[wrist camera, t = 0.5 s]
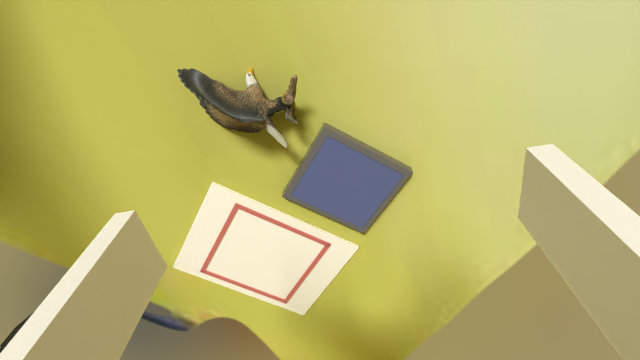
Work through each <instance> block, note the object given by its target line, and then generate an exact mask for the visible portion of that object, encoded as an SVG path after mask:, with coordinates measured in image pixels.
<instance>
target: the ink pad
mask: <svg viewBox="0 0 640 360" xmlns="http://www.w3.org/2000/svg"><path fill="white" fill-rule="evenodd" d="M412 173H413V171H412V169H411V167H409V166H407V165H405V164H403V163H401V162H399V161H397V160H396V159H394V158H392V157H390V156H388V155H386V154H384V153H382V152H380V151H378V150H376V149H374V148H372V147H371V146H369V145H367V144H365V143H363V142H361V141H359V140H357V139H355V138H353V137H351V136H349V135H348V134H346V133H344V132H342V131H340V130H338V129H336V128H334V127H332V126H330V125H328V124H326V123H324V124H323V126H322V128H321V129H320V131H319V133H318V134H317V136H316V138H315V139H314V141H313V143H312V144H311V146H310V148H309V149H308V151H307V153H306V154H305V156H304V158H303V159H302V161H301V163H300V164H299V166H298V168H297V169H296V171H295V173H294V174H293V176H292V178H291V179H290V181H289V183H288V184H287V186H286V188H285V189H284V191H283V195H282V197H283V198H286V199H288V200H290V201H292V202H294V203H297V204H299V205H301V206H303V207H306V208H308V209H310V210H312V211H314V212H317V213H319V214H321V215H323V216H326V217H328V218H330V219H332V220H334V221H337V222H339V223H341V224H343V225H346V226H348V227H350V228H352V229H354V230H357V231H359V232H361V233H363V234H364V233H365V232H366V230H367V229H368V228H369V227H370V225H371V224H372V223H373V222H374V220H375V219H376V218H377V217H378V215H379V214H380V213H381V212H382V210H383V209H384V208H385V207H386V206H387V204H388V203H389V202H390V201H391V199H392V198H393V197H394V196H395V194H396V193H397V192H398V191H399V189H400V188H401V187H402V186H403V184H404V183H405V182H406V181H407V179H408V178H409V177H410V176H411V174H412Z"/></svg>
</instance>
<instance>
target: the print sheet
mask: <svg viewBox="0 0 640 360" xmlns="http://www.w3.org/2000/svg"><path fill="white" fill-rule="evenodd" d="M358 248H359V246H358V245H356V244H354V243H352V242H349V241H347V240H345V239H342V238H340V237H338V236H336V235H333V234H331V233H329V232H326V231H324V230H322V229H320V228H317V227H315V226H313V225H310V224H308V223H306V222H304V221H301V220H299V219H297V218H294V217H292V216H290V215H288V214H285V213H283V212H281V211H278V210H276V209H274V208H272V207H269V206H267V205H265V204H262V203H260V202H258V201H256V200H253V199H251V198H249V197H247V196H244V195H242V194H240V193H237V192H235V191H233V190H231V189H228V188H226V187H224V186H221V185H219V184H217V183H215V182H212V184H211V186H210V188H209V190H208V192H207V195H206V197H205V199H204V201H203V203H202V205H201V208H200V210H199V212H198V214H197V216H196V218H195V221H194V223H193V225H192V227H191V229H190V231H189V234H188V236H187V238H186V240H185V242H184V244H183V247H182V249H181V251H180V253H179V255H178V257H177V260H176V262H175V264H174V266H173V268H176V269H178V270H181V271H184V272H187V273H189V274H192V275H195V276H197V277H200V278H203V279H206V280H208V281H211V282H214V283H217V284H219V285H222V286H225V287H227V288H230V289H233V290H236V291H238V292H241V293H244V294H246V295H249V296H252V297H255V298H257V299H260V300H263V301H266V302H268V303H271V304H274V305H276V306H279V307H282V308H285V309H287V310H290V311H293V312H296V313H298V314H301V315H304V314H305V313H306V312H307V311H308V309H309V308H310V307H311V306H312V304H313V303H314V302H315V301H316V300H317V298H318V297H319V296H320V295H321V293H322V292H323V291H324V290H325V289H326V287H327V286H328V285H329V284H330V282H331V281H332V280H333V279H334V277H335V276H336V275H337V274H338V273H339V271H340V270H341V269H342V268H343V266H344V265H345V264H346V263H347V262H348V260H349V259H350V258H351V257H352V255H353V254H354V253H355V252H356V251H357V249H358Z"/></svg>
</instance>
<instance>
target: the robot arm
mask: <svg viewBox="0 0 640 360" xmlns="http://www.w3.org/2000/svg"><path fill="white" fill-rule="evenodd" d="M518 218H519V220H520V221H521V222H522V224H523V225H524V226H525V228H526V229H527V230H528V232H529V233H530V235H531V236H532V237H533V239H534V240H535V241H536V243H537V244H538V246H539V247H540V248H541V249H542V251H543V252H544V254H545V255H546V256H547V258H548V259H549V260H550V262H551V263H552V265H553V266H554V267H555V269H556V270H557V271H558V273H559V274H560V276H561V277H562V278H563V280H564V281H565V282H566V284H567V285H568V286H569V288H570V289H571V291H572V292H573V293H574V295H575V296H576V297H577V299H578V300H579V302H580V303H581V304H582V305H583V307H584V308H585V310H586V311H587V312H588V314H589V315H590V317H591V318H592V319H593V320H594V322H595V323H596V325H597V326H598V327H599V329H600V330H601V332H602V333H603V334H604V336H605V337H606V338H607V340H608V341H609V342H610V344H611V345H612V347H613V348H614V349H615V351H616V352H617V353H618V355H619V356H620V357H621V359H622V360H640V217H639V216H638V215H637V214H636V213H635V212H633V211H632V210H631V209H630V208H629V207H627V206H626V205H625V204H624V203H622V202H621V201H620V200H619V199H618V198H617V197H615V196H614V195H613V194H612V193H611V192H609V191H608V190H607V189H606V188H604V187H603V186H602V185H601V184H600V183H599V182H597V181H596V180H595V179H594V178H593V177H591V176H590V175H589V174H588V173H587V172H585V171H584V170H583V169H582V168H581V167H579V166H578V165H577V164H576V163H575V162H573V161H572V160H571V159H570V158H569V157H567V156H566V155H565V154H564V153H563V152H561V151H560V150H559V149H558V148H557V147H555V146H554V145H553V144H549V145H543V146H536V147H530V148H526V154H525V163H524V171H523V180H522V188H521V197H520V206H519V214H518ZM166 268H167V265H166V263H165V261H164V260H163V258H162V256H161V254H160V253H159V251H158V249H157V248H156V246H155V244H154V242H153V241H152V239H151V237H150V235H149V234H148V232H147V230H146V229H145V227H144V225H143V223H142V222H141V220H140V218H139V217H138V215H137V213H136V211H135V210H134V211H128V212H122V213H115V214H114V215H113V217H112V218H111V219H110V220H109V221H108V223H107V224H106V225H105V226H104V228H103V229H102V230H101V231H100V232H99V234H98V235H97V236H96V237H95V239H94V240H93V241H92V242H91V243H90V245H89V246H88V247H87V248H86V249H85V251H84V252H83V253H82V254H81V256H80V257H79V258H78V259H77V260H76V262H75V263H74V264H73V265H72V267H71V268H70V269H69V270H68V271H67V273H66V274H65V275H64V276H63V278H62V279H61V280H60V281H59V283H58V284H57V285H56V286H55V287H54V289H53V290H52V291H51V292H50V294H49V295H48V296H47V297H46V298H45V299H44V301H43V302H42V303H41V304H40V306H39V307H38V308H37V309H36V311H34V312H33V313H32V314H31V315H30V316H29V317H27V318H26V319H25V320H24V321H23V322H21V323H20V324H19V325H18V326H17V327H16V328H15V329H14V330H13V331H12V332H11V333H10V335H9V336H8V337H7V338H6V339H5V341H4V342H3V343H2V344H1V348H0V360H119V359H120V358H121V356H122V354H123V352H124V350H125V348H126V346H127V344H128V342H129V340H130V338H131V336H132V334H133V332H134V330H135V328H136V326H137V324H138V322H139V320H140V319H141V317H142V315H143V313H144V311H145V309H146V307H147V305H148V303H149V301H150V299H151V297H152V295H153V293H154V291H155V289H156V287H157V285H158V283H159V281H160V279H161V278H162V276H163V274H164V272H165V270H166Z"/></svg>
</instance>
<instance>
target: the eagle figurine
mask: <svg viewBox="0 0 640 360" xmlns="http://www.w3.org/2000/svg"><path fill="white" fill-rule="evenodd" d="M177 71H178V73H179V75H178V77H179V78H180V79H181V82H183V83H184V86H185V87H186V88H188V89H190V91H191V92H192V93H194V94H195V95H196V97H197V98H198V99H199V100H200V105H201V106H202V107H204V108H206V110H205V111H206V113H208V114H209V115H210V117H211V118H212V119H213V120H214V121H216V122H217V123H218V124H220V125H222V126H223V127H227V128H229V129H234V130H237V131H243V132H248V133H250V132H251V133H254V132H259V131H261V129H264V130H265V131H267V132H268V133H270V134H271V135H272V136H273V137H274V138H275V139H276V140H277V141H278V142H279V143H280V144H281V145H282V146H284V147H285V148H287V147H288V143H287V142H286V141H285V139H284V137H283V136H282V135H281V134H280V133H279V132H278V130H277V129H276V128H275V126H274V124H273V122H272V120H271V118H270V117H271V116H272V115H274V113H276V112H279V111H281V110H285V109H286V113H285V118H286V119H287V120H289V121H291V122H292V123H294V124H298V122H297V121H296V119H297V117H296V115H295V114H294V112H295V111H294V108H293V103H294V98H295V95H296V84H297V76H296V75H294V76H293V77H292V78H291V80H290V85H289V89H288V90H287V91H286V92H285V93H284V95H283V96H282V97H278V98H276V99H275V100H267V99H265V97H264V93H263V91H262V89H261V87H260V86H259V84H258V83H257V81H256V79H255V77H254V74H253V69H252V68H251V69H249V71H248V73H247V74H246V86H247V91H237V90H233V89H231V88H229V87H228V86H226V85H224V84H223V83H221V82H218V81H215V80H212V79H210V78H209V77H208V76H207V75H205V74H203V73H201V72H199V71H197V70H195V69H189V70H188V69H182V70H180V69H178V70H177Z"/></svg>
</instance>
